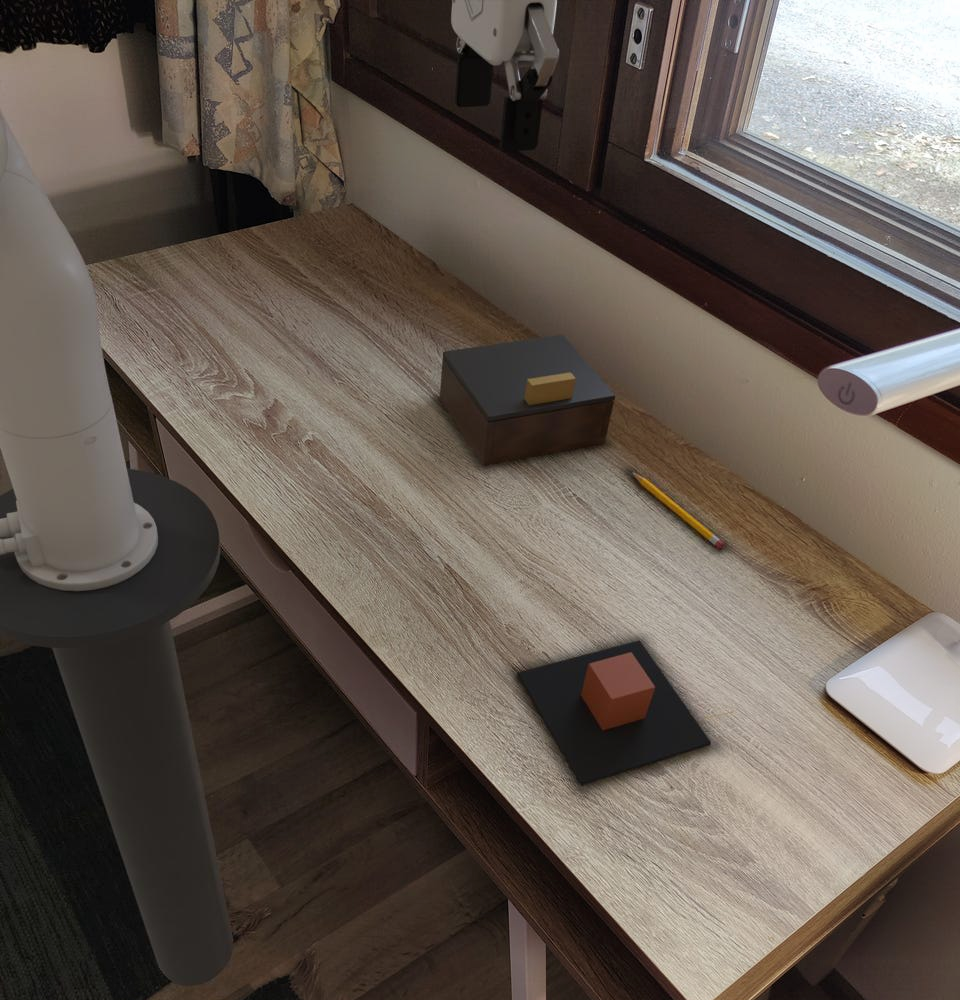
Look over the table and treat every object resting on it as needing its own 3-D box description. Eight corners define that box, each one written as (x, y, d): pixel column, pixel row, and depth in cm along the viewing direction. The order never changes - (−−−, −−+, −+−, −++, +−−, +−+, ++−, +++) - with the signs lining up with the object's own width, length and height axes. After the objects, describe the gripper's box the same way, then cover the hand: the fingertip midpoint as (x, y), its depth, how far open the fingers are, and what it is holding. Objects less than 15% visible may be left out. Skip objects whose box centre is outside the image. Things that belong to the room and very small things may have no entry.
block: (602, 730, 80) (611, 699, 77) (580, 695, 83) (588, 663, 80) (645, 718, 81) (655, 687, 79) (621, 683, 84) (631, 651, 81)
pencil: (717, 549, 98) (719, 544, 97) (628, 476, 105) (629, 470, 104) (723, 547, 98) (725, 541, 98) (634, 473, 105) (635, 468, 105)
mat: (580, 786, 77) (581, 783, 76) (517, 675, 84) (517, 672, 84) (710, 745, 81) (711, 742, 80) (638, 643, 88) (639, 639, 88)
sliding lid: (488, 421, 100) (491, 396, 97) (442, 356, 107) (444, 331, 105) (614, 400, 104) (619, 375, 102) (562, 339, 112) (566, 314, 110)
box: (483, 465, 103) (488, 422, 100) (439, 399, 111) (442, 357, 107) (604, 443, 108) (614, 401, 104) (555, 381, 116) (561, 339, 112)
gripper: (427, -151, 76) (417, 92, 88) (520, -95, 65) (494, 171, 78) (515, -147, 78) (494, 88, 90) (619, -93, 68) (579, 164, 80)
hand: (494, 126), depth 84 cm, fingers open, 9 cm apart
